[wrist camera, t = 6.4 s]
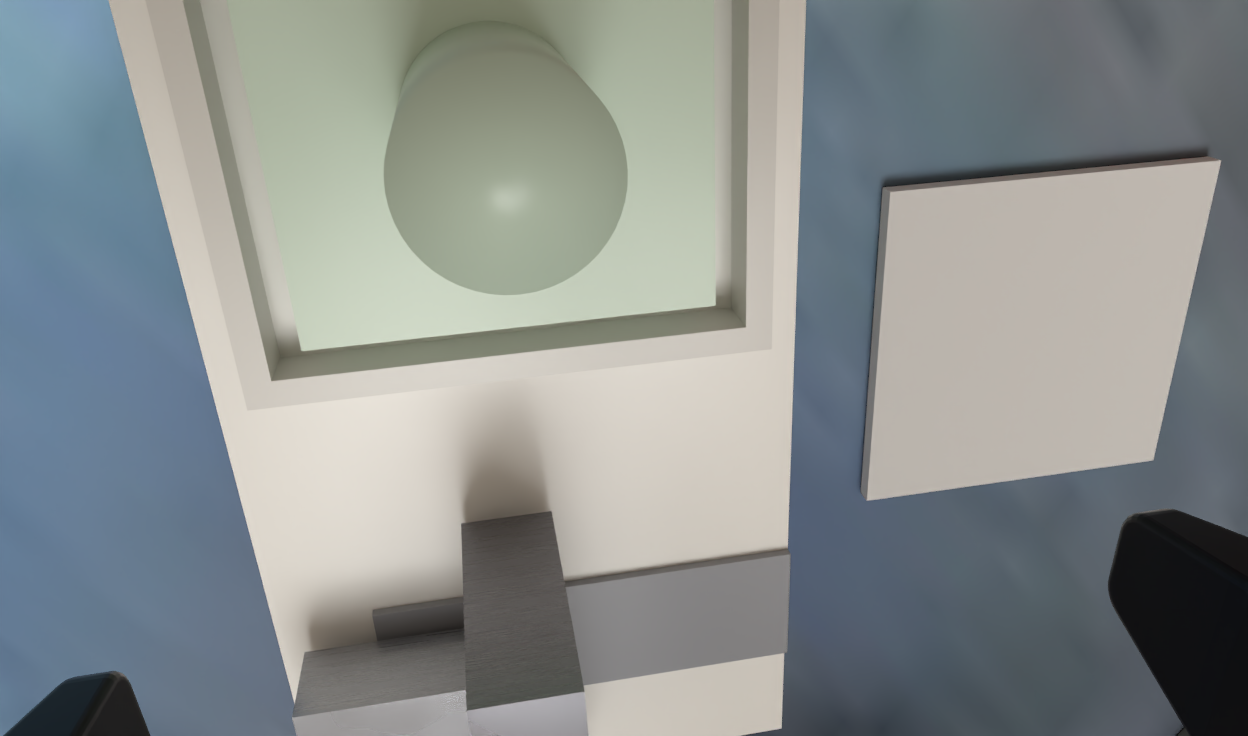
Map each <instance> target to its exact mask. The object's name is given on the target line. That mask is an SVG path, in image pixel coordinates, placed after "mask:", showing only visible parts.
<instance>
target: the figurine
mask: <svg viewBox="0 0 1248 736" xmlns="http://www.w3.org/2000/svg"><path fill="white" fill-rule="evenodd" d="M1177 736H1190V735H1189V734H1188V732H1187V731H1186V729H1185V728H1184V729H1183V730H1182V731H1181V732H1180V733H1179V734H1178V735H1177Z"/></svg>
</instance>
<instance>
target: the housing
mask: <svg viewBox="0 0 1248 736" xmlns="http://www.w3.org/2000/svg"><path fill="white" fill-rule="evenodd" d="M109 4H110V8H111V12H112V15H113V19H114V23H115V27H116V30H117V34H118V38H119V42H120V46H121V49H122V53H123V57H124V61H125V64H126V68H127V72H128V76H129V80H130V83H131V87H132V91H133V95H134V98H135V102H136V106H137V110H138V114H139V117H140V121H141V125H142V129H143V132H144V136H145V140H146V144H147V148H148V151H149V155H150V159H151V163H152V166H153V170H154V174H155V178H156V182H157V185H158V189H159V193H160V197H161V200H162V204H163V208H164V212H165V216H166V219H167V223H168V227H169V231H170V234H171V238H172V242H173V246H174V250H175V253H176V257H177V261H178V265H179V269H180V272H181V276H182V280H183V284H184V287H185V291H186V295H187V299H188V303H189V306H190V310H191V314H192V318H193V321H194V325H195V329H196V333H197V337H198V340H199V344H200V348H201V352H202V355H203V359H204V363H205V367H206V371H207V374H208V378H209V382H210V386H211V389H212V393H213V397H214V401H215V405H216V408H217V412H218V416H219V420H220V423H221V427H222V431H223V435H224V439H225V442H226V446H227V450H228V454H229V457H230V461H231V465H232V469H233V473H234V476H235V480H236V484H237V488H238V492H239V495H240V499H241V503H242V507H243V510H244V514H245V518H246V522H247V526H248V529H249V533H250V537H251V541H252V544H253V548H254V552H255V556H256V560H257V563H258V567H259V571H260V575H261V578H262V582H263V586H264V590H265V594H266V597H267V601H268V605H269V609H270V612H271V616H272V620H273V624H274V628H275V631H276V635H277V639H278V643H279V646H280V650H281V654H282V658H283V662H284V665H285V669H286V673H287V677H288V680H289V684H290V688H291V692H292V696H293V699H294V703H295V700H296V695H297V689H298V684H299V679H300V674H301V668H302V663H303V658H304V653H305V652H308V651H315V650H322V649H328V648H335V647H342V646H348V645H355V644H361V643H368V642H375V641H381V640H388V639H394V638H401V637H408V636H414V635H421V634H427V633H434V632H441V631H447V630H454V629H461V628H464V604H463V570H462V536H461V523H468V522H475V521H482V520H490V519H497V518H504V517H512V516H519V515H526V514H534V513H541V512H548V511H552V517H553V522H554V527H555V533H556V538H557V544H558V549H559V555H560V560H561V565H562V571H563V576H564V582H565V587H566V593H567V598H568V604H569V609H570V614H571V620H572V625H573V631H574V636H575V642H576V647H577V653H578V658H579V663H580V669H581V674H582V680H583V685H584V691H585V701H586V713H587V724H588V736H741V735H747V734H752V733H758V732H764V731H770V730H776V729H781V728H782V700H783V670H784V653H787V640H788V612H789V584H790V556H791V554H790V552H789V551H788V522H789V493H790V463H791V433H792V404H793V374H794V345H795V315H796V285H797V256H798V226H799V197H800V167H801V137H802V108H803V78H804V49H805V19H806V0H714V106H715V282H716V306H709V307H700V308H691V309H682V310H673V311H664V312H655V313H646V314H637V315H628V316H618V317H609V318H600V319H591V320H582V321H573V322H564V323H555V324H546V325H537V326H527V327H518V328H509V329H500V330H491V331H482V332H473V333H464V334H455V335H446V336H437V337H427V338H418V339H409V340H400V341H391V342H382V343H373V344H364V345H355V346H346V347H336V348H327V349H318V350H309V351H301V346H300V342H299V337H298V332H297V328H296V323H295V318H294V314H293V309H292V304H291V300H290V295H289V290H288V286H287V281H286V276H285V272H284V267H283V262H282V258H281V253H280V248H279V244H278V239H277V234H276V229H275V225H274V220H273V215H272V211H271V206H270V201H269V197H268V192H267V187H266V183H265V178H264V173H263V169H262V164H261V159H260V155H259V150H258V145H257V141H256V136H255V131H254V127H253V122H252V117H251V113H250V108H249V103H248V99H247V94H246V89H245V85H244V80H243V75H242V71H241V66H240V61H239V57H238V52H237V47H236V43H235V38H234V33H233V29H232V24H231V19H230V15H229V10H228V5H227V1H226V0H109Z"/></svg>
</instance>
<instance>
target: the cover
mask: <svg viewBox="0 0 1248 736" xmlns="http://www.w3.org/2000/svg"><path fill="white" fill-rule="evenodd" d="M226 1H227V5H228V10H229V15H230V19H231V24H232V29H233V33H234V38H235V43H236V47H237V52H238V57H239V61H240V66H241V71H242V75H243V80H244V85H245V89H246V94H247V99H248V103H249V108H250V113H251V117H252V122H253V127H254V131H255V136H256V141H257V145H258V150H259V155H260V159H261V164H262V169H263V173H264V178H265V183H266V187H267V192H268V197H269V201H270V206H271V211H272V215H273V220H274V225H275V229H276V234H277V239H278V244H279V248H280V253H281V258H282V262H283V267H284V272H285V276H286V281H287V286H288V290H289V295H290V300H291V304H292V309H293V314H294V318H295V323H296V328H297V332H298V337H299V342H300V346H301V351H309V350H318V349H327V348H336V347H346V346H355V345H364V344H373V343H382V342H391V341H400V340H409V339H418V338H427V337H437V336H446V335H455V334H464V333H473V332H482V331H491V330H500V329H509V328H518V327H527V326H537V325H546V324H555V323H564V322H573V321H582V320H591V319H600V318H609V317H618V316H628V315H637V314H646V313H655V312H664V311H673V310H682V309H691V308H700V307H709V306H716V282H715V106H714V0H226Z"/></svg>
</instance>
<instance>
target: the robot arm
mask: <svg viewBox="0 0 1248 736" xmlns="http://www.w3.org/2000/svg"><path fill="white" fill-rule="evenodd" d="M1108 591H1109V596H1110V600H1111V602H1112V605H1113V607H1114V609H1115V611H1116V613H1117V614H1118V616H1119V618H1120V620H1121V621H1122V623H1123V625H1124V626H1125V628H1126V630H1127V631H1128V633H1129V635H1130V636H1131V638H1132V640H1133V641H1134V643H1135V645H1136V647H1137V648H1138V650H1139V652H1140V653H1141V655H1142V657H1143V658H1144V660H1145V662H1146V663H1147V665H1148V667H1149V668H1150V670H1151V672H1152V674H1153V675H1154V677H1155V679H1156V680H1157V682H1158V684H1159V685H1160V687H1161V689H1162V690H1163V692H1164V694H1165V695H1166V697H1167V699H1168V701H1169V702H1170V704H1171V706H1172V707H1173V709H1174V711H1175V712H1176V714H1177V716H1178V717H1179V719H1180V721H1181V722H1182V724H1183V726H1184V727H1185V729H1186V731H1187V732H1188V734H1189V735H1190V736H1248V537H1246V536H1244V535H1241V534H1238V533H1236V532H1233V531H1231V530H1228V529H1225V528H1223V527H1220V526H1218V525H1215V524H1212V523H1210V522H1207V521H1205V520H1202V519H1199V518H1197V517H1194V516H1191V515H1189V514H1186V513H1184V512H1181V511H1178V510H1175V509H1159V510H1153V511H1146V512H1140V513H1135V514H1132V515H1130V516H1128V518H1127V519H1126V520H1125V521H1124V523H1123V524H1122V527H1121V530H1120V534H1119V538H1118V542H1117V547H1116V551H1115V555H1114V559H1113V563H1112V567H1111V571H1110V575H1109V580H1108ZM3 736H150V734H149V731H148V728H147V726H146V723H145V721H144V718H143V715H142V713H141V710H140V708H139V705H138V702H137V700H136V697H135V695H134V692H133V689H132V687H131V684H130V682H129V680H128V679H127V678H126V676H125V675H124V674H122V673H120V672H116V671H109V672H103V673H96V674H90V675H84V676H77V677H73V678H70V679H67V680H66V681H64V682H62V683H61V684H60V685H59V686H57V687H56V688H55V689H54V690H53V691H52V692H51V693H50V694H48V695H47V696H46V697H45V698H44V699H43V700H42V701H41V702H40V703H39V704H37V705H36V706H35V707H34V708H33V709H32V710H31V711H30V712H29V713H27V714H26V715H25V716H24V717H23V718H22V719H21V720H20V721H19V722H18V723H16V724H15V725H14V726H13V727H12V728H11V729H10V730H9V731H8V732H7V733H5V734H4V735H3Z"/></svg>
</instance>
